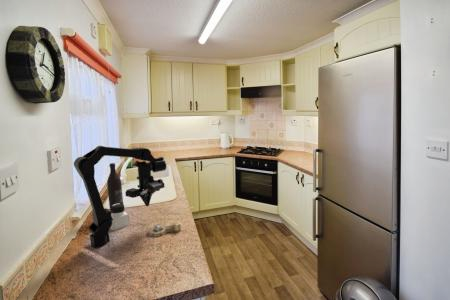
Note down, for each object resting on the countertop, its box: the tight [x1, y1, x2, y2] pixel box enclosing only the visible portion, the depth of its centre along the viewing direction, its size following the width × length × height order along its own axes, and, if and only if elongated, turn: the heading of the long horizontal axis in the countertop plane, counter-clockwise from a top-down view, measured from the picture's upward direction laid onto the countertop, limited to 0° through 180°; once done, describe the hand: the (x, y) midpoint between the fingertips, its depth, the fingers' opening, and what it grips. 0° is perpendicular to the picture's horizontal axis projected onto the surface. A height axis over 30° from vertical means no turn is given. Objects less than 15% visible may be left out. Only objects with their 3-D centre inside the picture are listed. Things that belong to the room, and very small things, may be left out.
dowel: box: [174, 224, 179, 233], centre depth 121 cm, size 2×2×3 cm
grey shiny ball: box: [153, 224, 162, 232], centre depth 121 cm, size 3×3×3 cm
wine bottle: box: [106, 162, 124, 214], centre depth 143 cm, size 7×7×30 cm
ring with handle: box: [147, 222, 182, 238], centre depth 122 cm, size 15×9×3 cm, turn 100°
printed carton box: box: [109, 203, 130, 231], centre depth 130 cm, size 7×7×12 cm
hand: (147, 206), depth 126 cm, fingers closed
